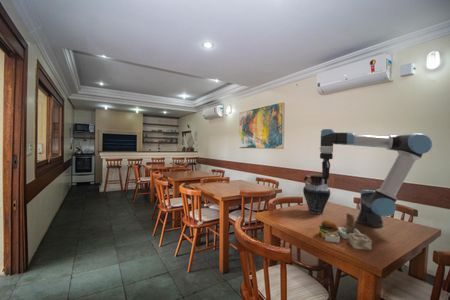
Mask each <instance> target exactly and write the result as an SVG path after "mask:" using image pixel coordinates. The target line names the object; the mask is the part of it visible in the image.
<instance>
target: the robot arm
mask: <svg viewBox="0 0 450 300" xmlns="http://www.w3.org/2000/svg"><path fill="white" fill-rule="evenodd" d="M334 145H338V146H339V145H341V146H344V145H345V146H355V147H367V148H368V147H369V148H381V149H386V150H388V151H389V150H390V151H394V152H395V151H396V152H397V154H398V155H397V156H396V159H395V160H394V162H393V164H392V165H391V168H390V170H389V171H388V173H387V175H386V177H385V178H384V180H383V182H382V184H381V185H380V188H377V189H375V190H371V189H361V191H360V201H359V203H360V205H359V207H360V209H359V211H358V212H359V213H358V215H357V216H356V222H357V223H358V224H360V225H362V226H366V227H370V228H382V227H383V226H384V222H383V219H382V217H390V216H393V214H395V212H396V210H397V206H396V202H397V200H398V198H397V194H398V192H399V190H400V189H401V186H402V185H403V183H404V182H405V180H406V178H407V176H408V174H409V172H410V171H411V169H412V167H413V165H414V164H415V162H416V161H418V160H420V159H421V158H422V156H423V154H426V153H429V152H430V150H432V147H433V142H432V140H431V138H430V137H429V136H428V135H426V134H424V133H411V134H410V133H409V134H400V135H389V134H388V135H387V136H383V135H381V136H378V135H368V134H367V135H365V134H364V135H363V134H354V132H335V131H334V129H333V128H328V129H327V128H325V129H324V128H322V129H321V130H320V147H319V150H320V151H319V152H320V154H319V159H320V160H322V162H321V170H322V171H321V175H322V177H323V178H322V184H323V189H327V188H329V187H328V183H329V178H330V168H331V161H330V160H333V158H334V155H333V153H334Z"/></svg>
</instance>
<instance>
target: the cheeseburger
mask: <svg viewBox="0 0 450 300" xmlns="http://www.w3.org/2000/svg"><path fill="white" fill-rule="evenodd" d="M318 227H319V228H318V234H319V235H320V236H321V237H322V239H325V234H326V233H330V235H335V234H339V232H338V230H339V229H338V227H339V226H338V225H337V223H335V222H332V221H331V220H326V219H324V220H323V221H321V223H320V225H318Z"/></svg>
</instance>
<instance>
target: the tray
mask: <svg viewBox="0 0 450 300" xmlns="http://www.w3.org/2000/svg"><path fill="white" fill-rule="evenodd" d="M337 227H338V229H339V230H337V231H338V234H339V236H340V238H341V239H344V240H345V239H347V240H349V234H346V227H339V226H337ZM354 234H362V233H361V232H360V231H359V230H358V229H357V228H354Z"/></svg>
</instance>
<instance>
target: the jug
mask: <svg viewBox="0 0 450 300" xmlns="http://www.w3.org/2000/svg"><path fill="white" fill-rule="evenodd" d="M322 178H323V177H322V174H318V173H311V174H310V175H308V174H307V175H305V176H304V178H303V180H304V185H305V186H304V187H303V189H302V192H303V196H304V199H305V201H306V205H307V207H308V208H307V210H308V212H309V213H311V214H314V215H322V214H323V213H324V211H325V208H326V205H327V203H328V202H329V199H330V196H331V190H330V188H329V187H328V188H327V189H323V179H322ZM308 179H310V180H311V182H310V183H309V181H308Z"/></svg>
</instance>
